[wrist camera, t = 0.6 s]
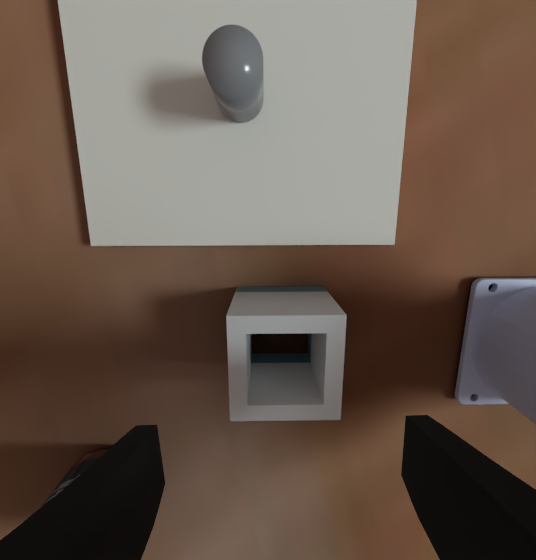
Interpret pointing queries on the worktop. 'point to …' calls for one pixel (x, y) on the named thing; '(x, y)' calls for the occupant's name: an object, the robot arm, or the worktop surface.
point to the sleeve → (285, 355)
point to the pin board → (230, 165)
